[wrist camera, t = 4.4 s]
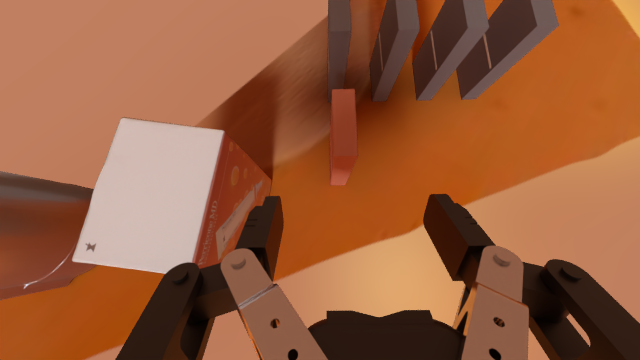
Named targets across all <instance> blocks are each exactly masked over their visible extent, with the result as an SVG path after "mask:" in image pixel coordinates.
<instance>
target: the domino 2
mask: <svg viewBox="0 0 640 360" xmlns="http://www.w3.org/2000/svg"><path fill="white" fill-rule="evenodd" d="M329 150H330V185H345V184H346V182H347V180H348V177H349V175H350V173H351V171H352V168H353V166H354V164H355V162H356V159H357V157H358V143H357V125H356V106H355V89H332V102H331V120H330V138H329Z"/></svg>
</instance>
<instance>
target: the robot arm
mask: <svg viewBox="0 0 640 360" xmlns="http://www.w3.org/2000/svg"><path fill="white" fill-rule="evenodd" d="M93 191H94V189H90V188H85V187H81V186H77V185H72V184H65V183H59V182H54V181H50V180H44V179H39V178H33V177H28V176H23V175H18V174H12V173H6V172H1V171H0V300H3V299H8V298H12V297H17V296H22V295H27V294H31V293H36V292H41V291H46V290H51V289H55V288H60V287H65V286H68V285H69V283H70V282H71V280H72V279H73V278H74V277H76V276H78V275H80V274H82V273H85V272H87V271H89V270H90V269H92V268H93V267H95V266H96V265H97V264H90V263H80V262H73V261H72V258H73V255H74V252H75V250H76V247H77V244H78V241H79V238H80V234H81V231H82V228H83V226H84V222H85V219H86V216H87V214H88V210H89V207H90V202H91V198H92V194H93ZM423 222H424V227H425V229H426V231H427V233H428V234H429V236H430V238H431V240H432V242H433V244H434V246H435V248H436V250H437V252H438V253H439V256H440V257H441V259H442V261H443V263H444V265H445V267H446V269H447V271H448V272H449V275H450V276H451V278H452V280H453V281H463V282H464V283H465V286H464V289H463V292H462V296H461V299H460V303H459V306H458V310H457V313H456V317H455V321H454V324H453V326H452V327H451V326H449V325H447V324H445V323H443V322H440V321H437V320H434V319H432V315H431V313H430V310H404V311H400V312H397V313H394V314H390V315H387V316H384V317H374V316H371V315H367V314H363V313H359V312H355V311H327V319H324V320H321V321H319V322H317V323H315V324H313V325H312V326H310V327H309V328H308V329H307V328H306V326H305V325H304V323H303V321H302V320H301V318H300V317H299V315H298V314H297V312H296V311H295V310H294V308H293V306H292V305H291V304H290V302H289V300H288V299H287V297H286V296H285V294H284V293H283V291H282V290H281V288H280V287H279V286H278V285H277V284H273V278H274V273H275V267H276V262H277V257H278V252H279V247H280V242H281V237H282V232H283V212H282V205H281V199H280V196H266V197H265V199H264V202H263V205H262V206H255V207H254V208H253V209H252V210H251V211H250V212H249V215H248V217H247V221H246V222H245V225H244V227H243V230H242V232H241V235H240V237H239V240H238V242H237V245H236V247H235V249H234V251H232V252H230V253H228V254H227V255H226V256H225V257H224V258H223V260H222V262H220V263H218V264H215V265H212V266H208V267H204V268H201V269H199V267H198V265H197V264H195V263H191V262H187V263H182V264H179V265H177V266H175V267H173V268H172V269H170V270H169V271H168V272H167V273H166V274H165V275H164V277H163V278H162V280H161V282H160V283H159V285H158V287H157V289H156V290H155V292H154V294H153V295H152V297H151V299H150V301H149V302H148V304H147V306H146V308H145V309H144V311H143V313H142V314H141V316H140V318H139V320H138V321H137V323H136V325H135V327H134V328H133V330H132V332H131V334H130V335H129V337H128V339H127V340H126V342H125V344H124V346H123V347H122V349H121V351H120V353H119V354H118V356H117V358H116V360H202V358H203V355H204V352H205V349H206V346H207V342H208V339H209V336H210V333H211V330H212V326H213V323H214V320H215V317H216V316H219V315H222V314H225V313H228V312H231V311H234V310H237V311H238V313H239V316H240V318H241V320H242V322H243V324H244V327H245V329H246V331H247V333H248V336H249V338H250V339H251V342H252V344H253V347H254V349H255V352H256V354H257V356H258V358H259V360H528V326H529V328H530V330H531V331H532V333H533V334H534V336H535V337H536V339H537V340H538V342H539V344H540V345H541V347H542V348H543V350H544V351H545V353H546V354H547V356H548V358H549V359H550V360H640V324H639V323H638V322H637V321H636V320H635V319H634V318H633V317H632V316H631V315H630V314H629V313H628V312H627V311H626V310H625V309H624V308H623V307H622V306H621V305H620V304H619V303H618V302H617V301H616V300H615V299H614V298H613V297H612V296H610V294H609V293H608V292H606V290H605V289H604V288H602V287H601V286H600V285H599V284H598V283H597V282H596V281H595V280H594V279H593V278H592V277H591V276H590V275H589V274H588V273H587V272H585V271H584V270H583V269H581V268H580V267H578V266H576V265H574V264H572V263H569V262H567V261H563V260H557V259H553V260H549V261H548V262H547V263H546V265H545V266H544V267H542V266H538V265H534V264H529V263H525V262H522V261H521V260H520V258H519V257H518V256H516V255H515V254H514V253H512V252H511V251H509V250H507V249H505V248H502V247H499V246H496V245H495V244H494V243H493V242H492V241H491V239H490V238H489V237H488V236H487V234H486V233H485V232H484V230H483V229H482V228H481V227H480V226H479V225H478V224H477V222H476V221H475V220H474V219H473V218H472V216H471V214H469V212H468V211H467V210H466V209H465V208H463V207H462V206H461V205H459V204H458V203H454V202H453V201H452V200H451V198H450V197H449V196H448V195H447V194H431V195H430V196H429V199H428V203H427V206H426V210H425V213H424V218H423ZM569 314H571V315H572V316H573V317H574V318H575V320H576V321H577V322H578V324H579V325H580V326H581V327H582V328H583V330H584V331H585V332H586V333H587V335H588V337H589V339H590V344H591V345H590V347H589V345H588V344H587V343H586V342H585V340H584V339H583V338H582V337H581V335H580V334H579V333H578V332H577V330H576V329H575V328H574V327H573V325H572V324H571V323H570V321H569V320H568V319H567V318H566V317H567V316H568V315H569Z"/></svg>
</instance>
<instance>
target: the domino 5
mask: <svg viewBox="0 0 640 360" xmlns="http://www.w3.org/2000/svg"><path fill="white" fill-rule="evenodd" d="M488 24H489V28H488V30H487V31H486V32H485V33H484V35H483V36H482V37H481V38H480V39H479V41H478V42H477V43H476V44H475V46H474V47H473V48H472V49H471V51H470V52H469V53H468V54H467V56H466V57H465V58H464V59H463V61H462V62H461V63H460V64H459V65H458V67H457V68H456V69H457V75H458V81H459V88H460V94H461V99H476V98H477V97H478V96H479V95H480V94H482V93H483V92H484V91H485V90H486V89H487V88H488V87H490V86H491V85H492V84H493V83H494V82H495V81H496V80H498V79H499V78H500V77H501V76H502V75H503V74H504V73H505V72H507V71H508V70H509V69H510V68H511V67H512V66H513V65H515V64H516V63H517V62H518V61H519V60H520V59H521V58H522V57H524V56H525V55H526V54H527V53H528V52H529V51H530V50H532V49H533V48H534V47H535V46H536V45H537V44H538V43H540V42H541V41H542V40H543V39H544V38H545V37H546V36H547V35H549V34H550V33H551V32H552V31H553V30H554V29H555V28H557V27H558V26H559V24H558V20H557V17H556V13H555V10H554V6H553V3H552V0H503V1H502V3H501V4H500V5H499V7H498V8H497V9H496V11H495V12H494V13H493V14H492V16H491V17H490V18H489V20H488Z"/></svg>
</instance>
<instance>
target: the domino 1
mask: <svg viewBox="0 0 640 360" xmlns="http://www.w3.org/2000/svg"><path fill="white" fill-rule="evenodd" d="M328 4H329V5H328V48H327V80H328V102H332V89H344V81H345V74H346V67H347V60H348V52H349V45H350V38H351V13H350V0H329V1H328Z"/></svg>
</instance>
